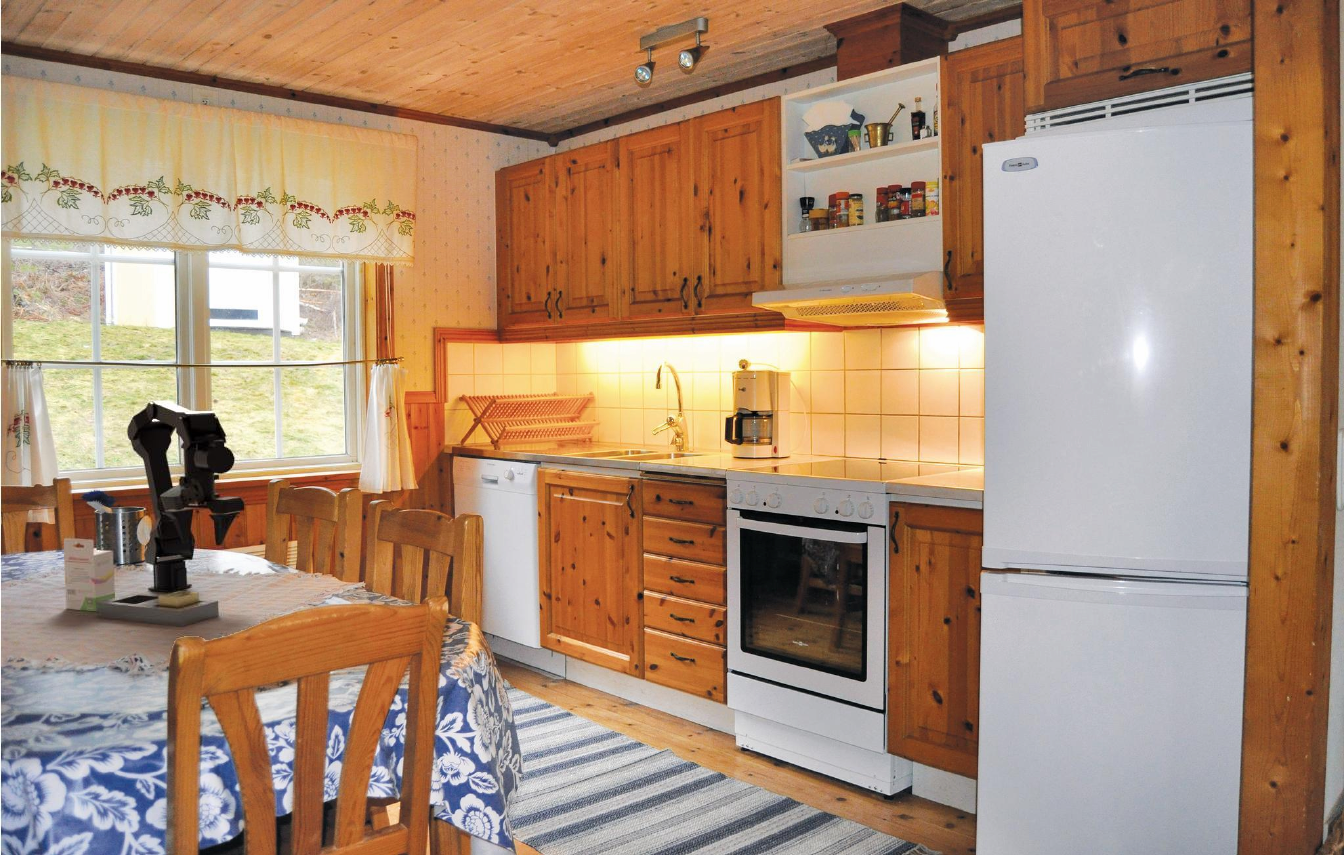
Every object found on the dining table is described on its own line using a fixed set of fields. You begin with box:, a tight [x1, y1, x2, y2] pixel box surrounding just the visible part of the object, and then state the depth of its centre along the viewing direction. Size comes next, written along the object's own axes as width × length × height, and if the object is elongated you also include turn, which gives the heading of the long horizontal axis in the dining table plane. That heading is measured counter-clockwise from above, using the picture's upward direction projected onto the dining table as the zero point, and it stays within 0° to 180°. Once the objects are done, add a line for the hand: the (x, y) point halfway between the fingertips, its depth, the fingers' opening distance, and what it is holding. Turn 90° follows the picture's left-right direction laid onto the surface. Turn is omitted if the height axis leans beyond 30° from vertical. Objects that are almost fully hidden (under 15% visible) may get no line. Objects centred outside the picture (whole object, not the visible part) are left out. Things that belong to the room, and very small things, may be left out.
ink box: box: [63, 537, 116, 612], centre depth 208 cm, size 9×5×15 cm, turn 71°
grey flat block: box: [96, 592, 220, 628], centre depth 200 cm, size 22×9×3 cm, turn 69°
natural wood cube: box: [158, 590, 200, 609], centre depth 198 cm, size 5×5×5 cm
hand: (202, 544), depth 213 cm, fingers open, 9 cm apart
